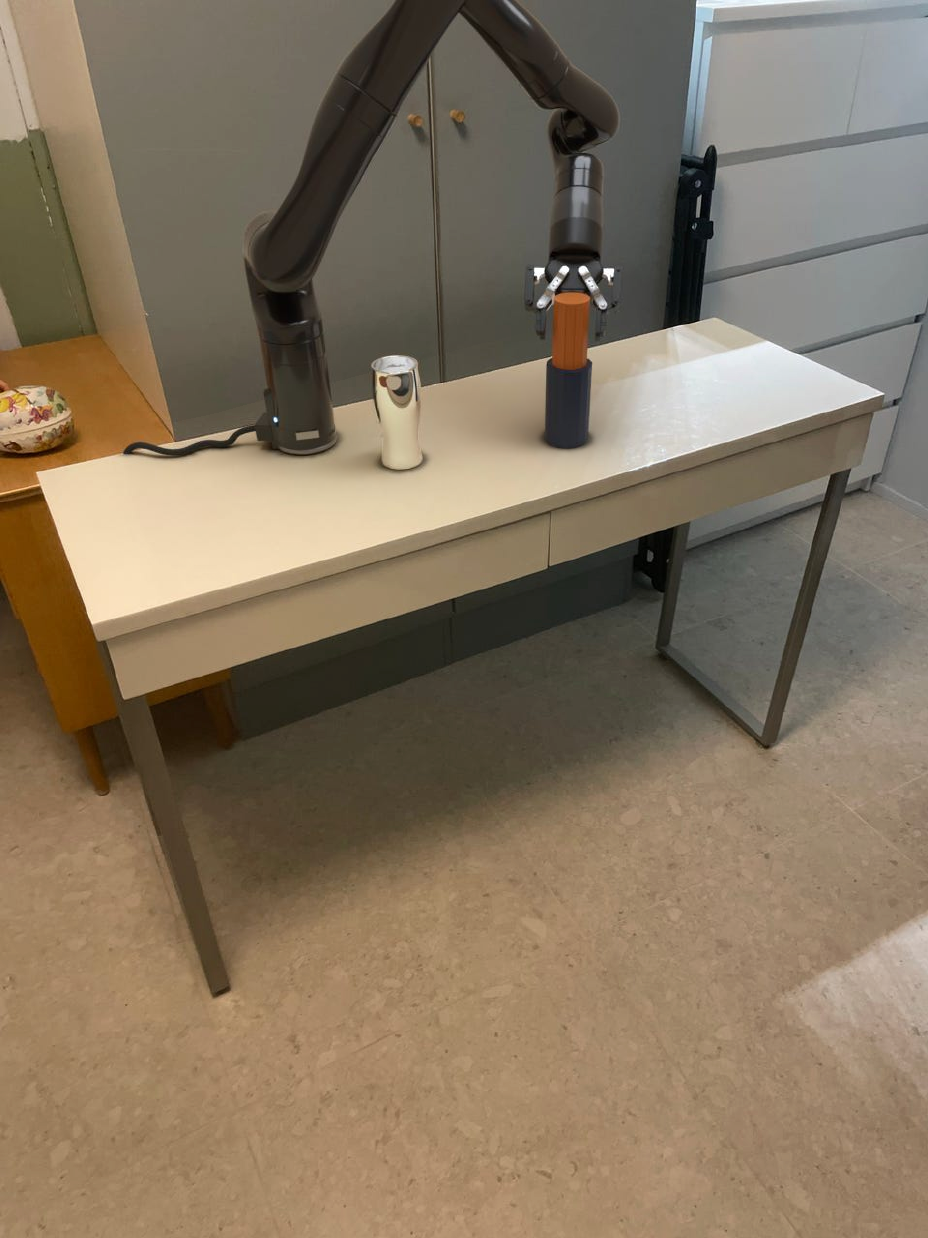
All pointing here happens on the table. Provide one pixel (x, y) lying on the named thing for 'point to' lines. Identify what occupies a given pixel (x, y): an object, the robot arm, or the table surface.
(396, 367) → the silver metal tumbler
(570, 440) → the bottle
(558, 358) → the grooved orange cylinder
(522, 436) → the table surface
